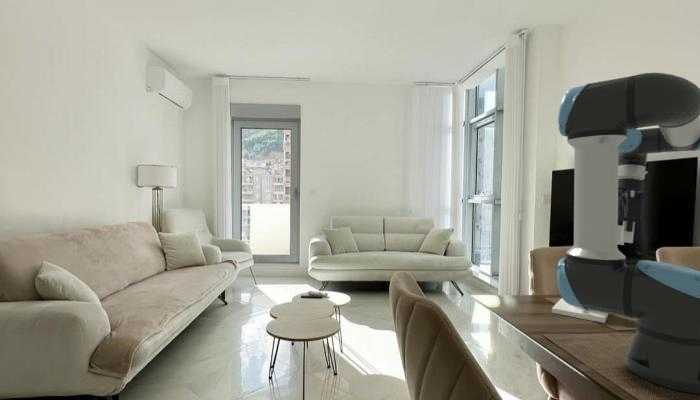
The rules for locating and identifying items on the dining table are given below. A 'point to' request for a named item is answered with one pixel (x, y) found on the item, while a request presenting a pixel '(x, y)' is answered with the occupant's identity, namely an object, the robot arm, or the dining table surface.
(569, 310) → the trivet
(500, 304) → the dining table surface
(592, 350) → the dining table surface
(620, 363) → the dining table surface
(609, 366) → the dining table surface
